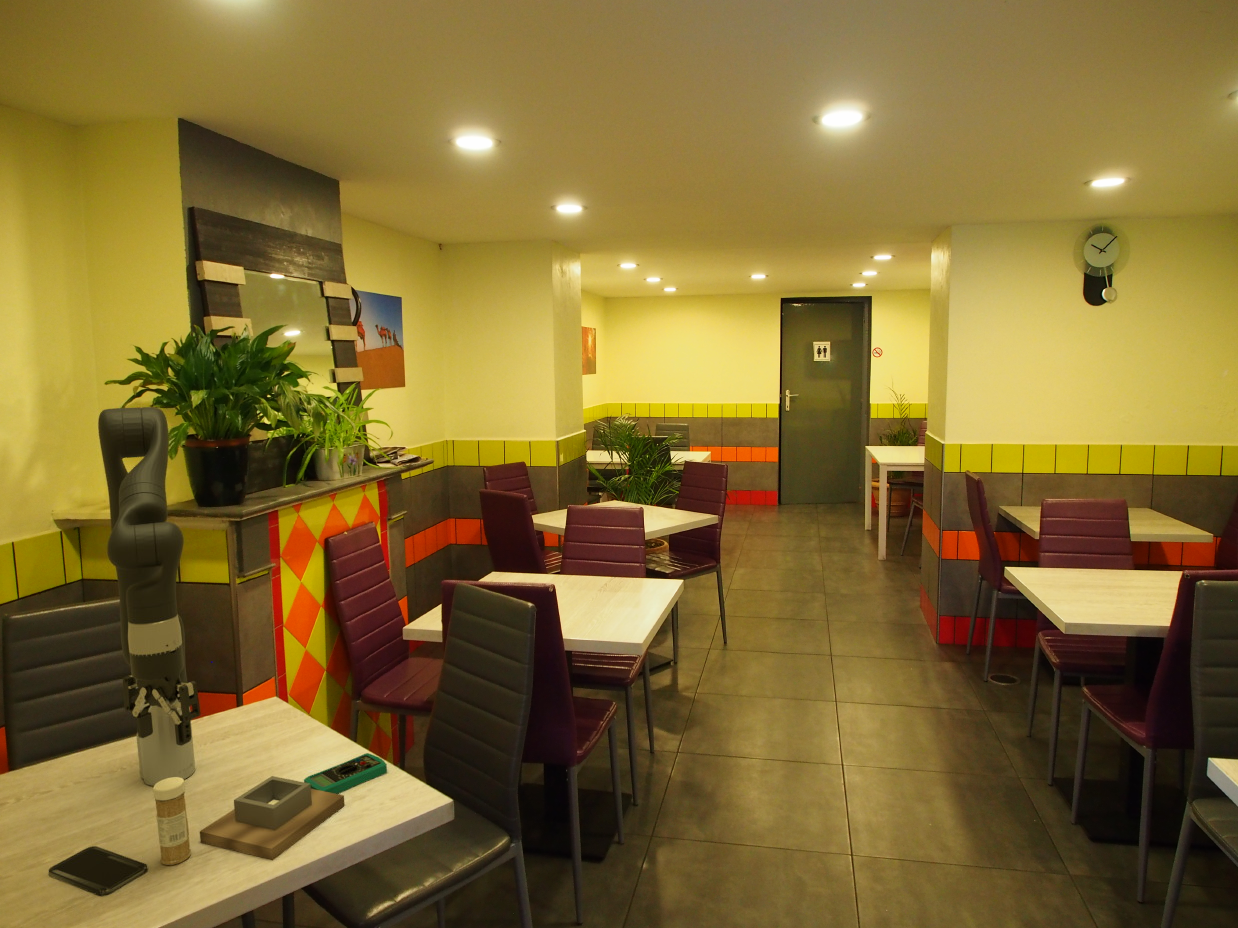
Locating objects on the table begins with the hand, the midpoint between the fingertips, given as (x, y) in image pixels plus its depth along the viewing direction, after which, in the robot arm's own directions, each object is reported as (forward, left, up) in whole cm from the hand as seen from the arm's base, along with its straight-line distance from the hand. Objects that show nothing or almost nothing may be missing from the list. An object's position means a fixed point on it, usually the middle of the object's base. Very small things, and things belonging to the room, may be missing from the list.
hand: (164, 739), depth 136 cm
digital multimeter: (+10, +31, -22) cm, 39 cm away
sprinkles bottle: (0, 0, -21) cm, 21 cm away
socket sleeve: (+8, +14, -19) cm, 25 cm away
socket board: (+8, +14, -21) cm, 26 cm away
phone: (-9, -7, -22) cm, 24 cm away
